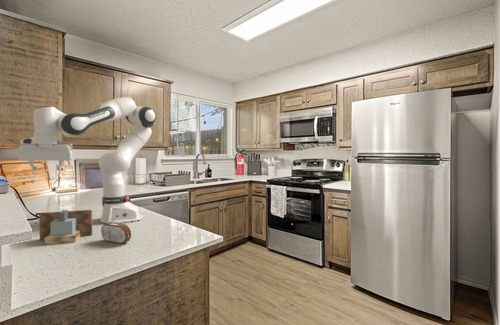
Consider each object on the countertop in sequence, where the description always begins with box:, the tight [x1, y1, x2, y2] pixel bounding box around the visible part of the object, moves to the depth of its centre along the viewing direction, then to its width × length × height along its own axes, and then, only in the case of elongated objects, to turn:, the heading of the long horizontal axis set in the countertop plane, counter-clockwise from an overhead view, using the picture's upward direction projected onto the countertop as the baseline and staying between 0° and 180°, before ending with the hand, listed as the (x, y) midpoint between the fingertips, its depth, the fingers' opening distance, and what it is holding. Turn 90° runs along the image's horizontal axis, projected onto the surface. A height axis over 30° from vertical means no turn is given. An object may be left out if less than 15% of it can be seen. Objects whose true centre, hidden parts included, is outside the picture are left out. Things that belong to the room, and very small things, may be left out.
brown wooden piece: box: [38, 209, 93, 246], centre depth 112 cm, size 20×10×12 cm, turn 111°
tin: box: [100, 222, 132, 245], centre depth 110 cm, size 15×3×8 cm, turn 71°
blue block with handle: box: [50, 209, 76, 236], centre depth 112 cm, size 8×6×10 cm
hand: (46, 170), depth 118 cm, fingers open, 8 cm apart
